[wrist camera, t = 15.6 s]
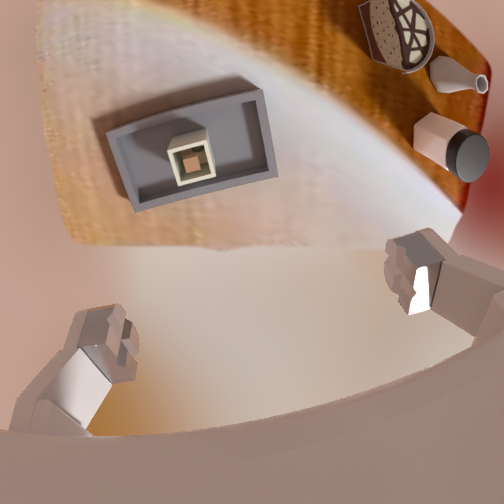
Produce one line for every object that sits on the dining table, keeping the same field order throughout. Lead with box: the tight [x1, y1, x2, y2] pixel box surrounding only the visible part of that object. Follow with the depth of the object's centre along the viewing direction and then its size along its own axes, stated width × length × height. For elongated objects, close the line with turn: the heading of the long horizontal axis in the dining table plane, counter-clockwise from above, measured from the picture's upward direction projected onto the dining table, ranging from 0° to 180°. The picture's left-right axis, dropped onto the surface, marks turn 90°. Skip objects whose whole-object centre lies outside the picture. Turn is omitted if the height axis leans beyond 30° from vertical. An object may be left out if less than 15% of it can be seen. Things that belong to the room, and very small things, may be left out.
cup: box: [167, 128, 216, 186], centre depth 41 cm, size 5×5×8 cm
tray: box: [106, 88, 278, 213], centre depth 43 cm, size 13×22×3 cm, turn 100°
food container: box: [358, 0, 434, 74], centre depth 32 cm, size 12×6×10 cm, turn 17°
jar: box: [413, 112, 489, 182], centre depth 42 cm, size 9×8×12 cm
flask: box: [430, 55, 488, 93], centre depth 37 cm, size 7×7×10 cm
